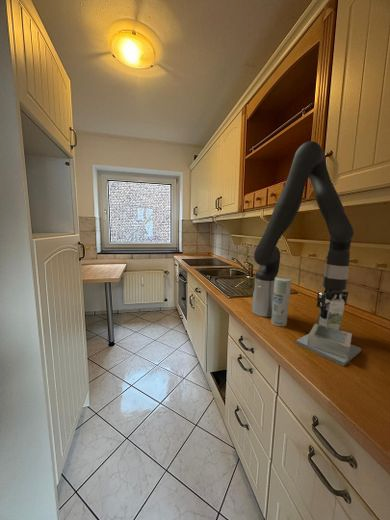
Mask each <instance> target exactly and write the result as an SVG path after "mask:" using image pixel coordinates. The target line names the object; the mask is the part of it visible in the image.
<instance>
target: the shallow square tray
mask: <svg viewBox="0 0 390 520" xmlns="http://www.w3.org/2000/svg"><path fill="white" fill-rule="evenodd" d="M308 334H309V335H308V343H307V345H308V346H311V347H314V348H317V349H320V350H322V351H325V352H328V353H331V354H334V355H337V356H340V357H343V358H346V359H348V355H349V349H350V344H351V343H352V337H353V336H352V335H353V334H352V333H351V332H347V331H343V330H341V329H340V330H337V329H333V328H330V327H326V326H323V325H319V324H317V323H314V324H313V326H312V328H311V330H310V331H309V333H308Z"/></svg>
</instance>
